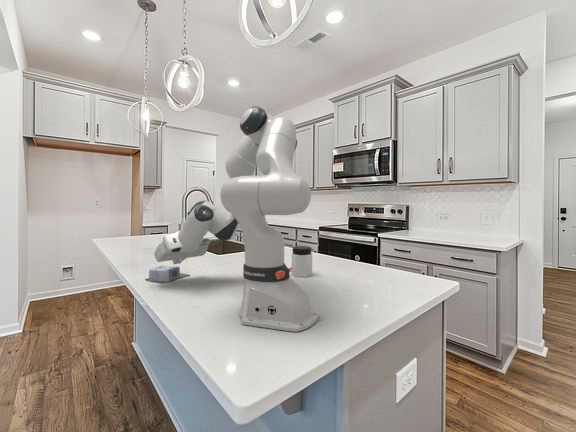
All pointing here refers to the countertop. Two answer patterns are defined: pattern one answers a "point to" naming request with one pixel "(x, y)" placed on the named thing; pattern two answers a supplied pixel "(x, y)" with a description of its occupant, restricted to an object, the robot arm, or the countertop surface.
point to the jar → (301, 261)
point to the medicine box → (164, 273)
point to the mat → (173, 279)
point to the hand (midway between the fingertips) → (176, 262)
